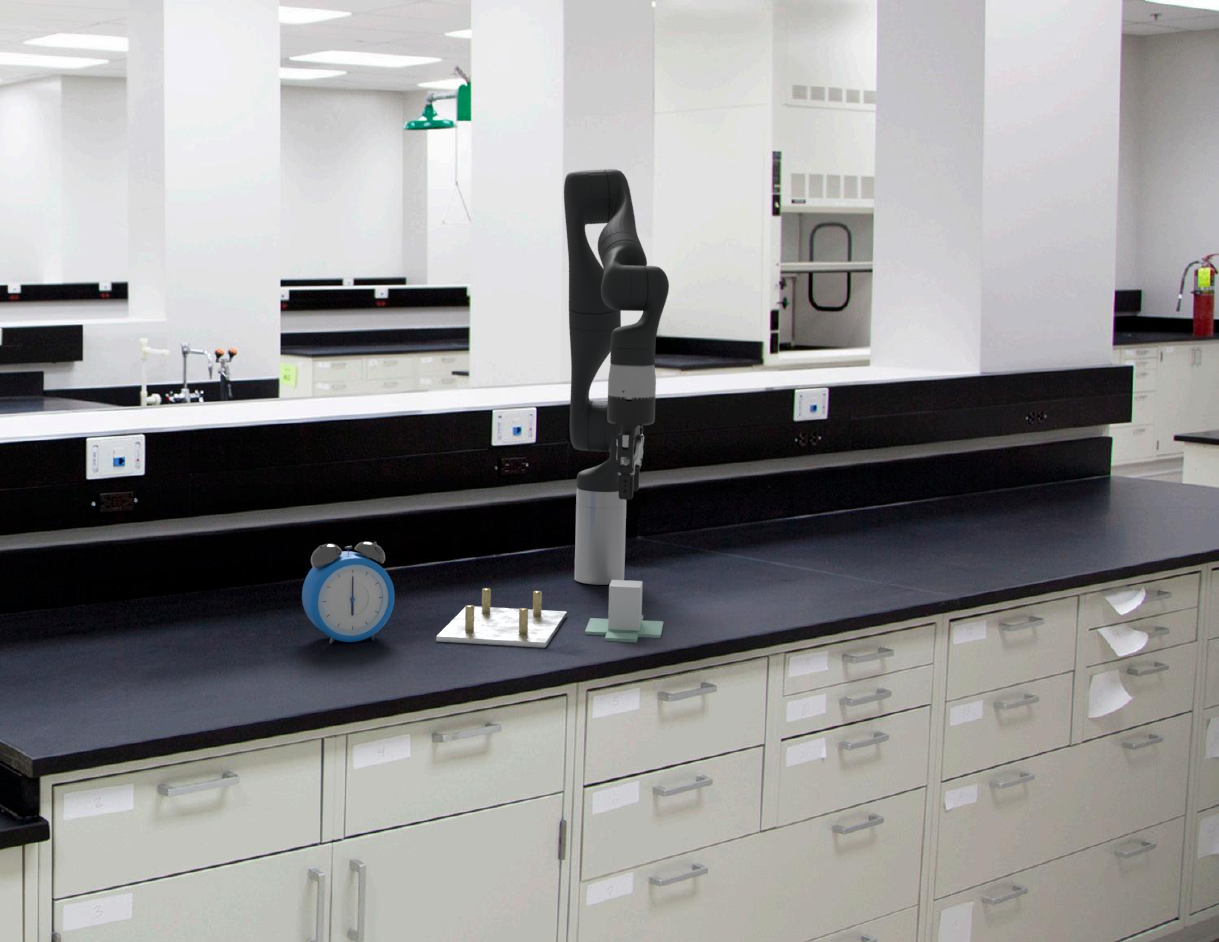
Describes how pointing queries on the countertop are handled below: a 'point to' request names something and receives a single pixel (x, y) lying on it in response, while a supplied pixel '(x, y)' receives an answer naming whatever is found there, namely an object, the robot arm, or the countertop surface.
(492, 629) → the chassis plate
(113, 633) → the countertop surface
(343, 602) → the alarm clock
